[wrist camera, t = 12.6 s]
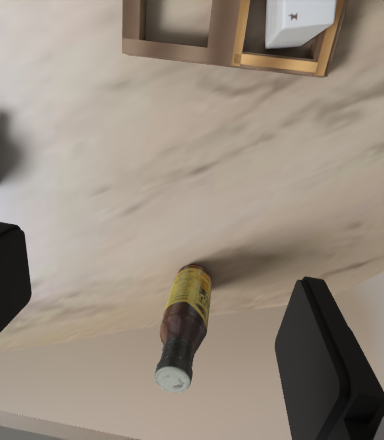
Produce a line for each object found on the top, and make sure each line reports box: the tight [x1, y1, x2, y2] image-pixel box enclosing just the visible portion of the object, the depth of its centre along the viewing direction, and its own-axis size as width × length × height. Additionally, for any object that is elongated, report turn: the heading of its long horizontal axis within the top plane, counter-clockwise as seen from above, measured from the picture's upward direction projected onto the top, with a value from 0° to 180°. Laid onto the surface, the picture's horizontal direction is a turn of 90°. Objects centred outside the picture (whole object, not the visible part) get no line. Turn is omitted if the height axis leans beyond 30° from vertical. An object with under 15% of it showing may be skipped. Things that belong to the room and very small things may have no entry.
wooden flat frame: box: [122, 0, 348, 77], centre depth 32 cm, size 24×11×3 cm, turn 83°
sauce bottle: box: [155, 265, 212, 393], centre depth 40 cm, size 6×6×20 cm
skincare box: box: [265, 0, 337, 49], centre depth 28 cm, size 6×4×12 cm
